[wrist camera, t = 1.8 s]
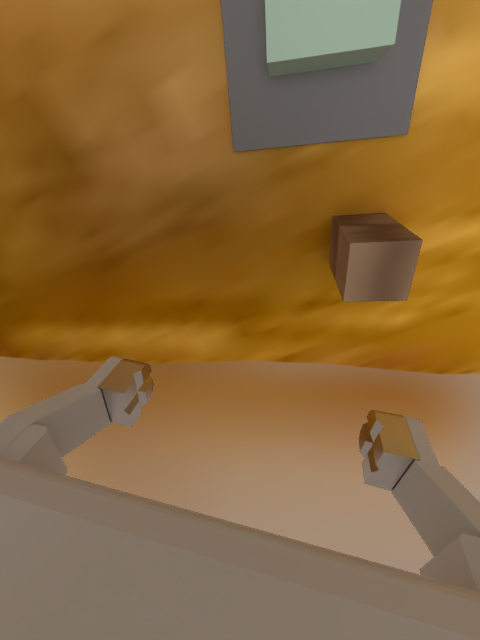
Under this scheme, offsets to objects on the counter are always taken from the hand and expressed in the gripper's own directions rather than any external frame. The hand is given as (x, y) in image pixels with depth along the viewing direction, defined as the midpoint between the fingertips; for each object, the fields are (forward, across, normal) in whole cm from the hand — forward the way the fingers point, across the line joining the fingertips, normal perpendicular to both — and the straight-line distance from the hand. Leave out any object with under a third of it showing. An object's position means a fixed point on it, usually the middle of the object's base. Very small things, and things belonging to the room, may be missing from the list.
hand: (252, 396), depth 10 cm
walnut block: (+24, +7, 0) cm, 25 cm away
